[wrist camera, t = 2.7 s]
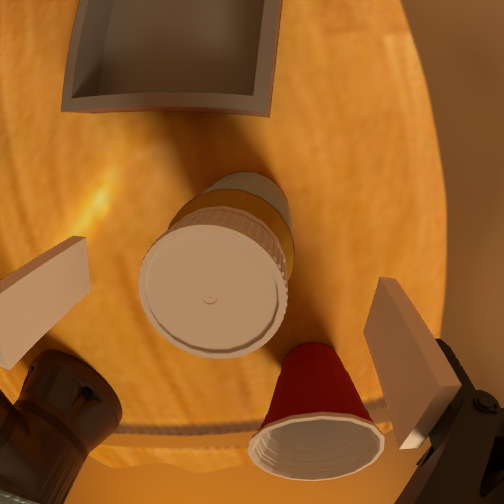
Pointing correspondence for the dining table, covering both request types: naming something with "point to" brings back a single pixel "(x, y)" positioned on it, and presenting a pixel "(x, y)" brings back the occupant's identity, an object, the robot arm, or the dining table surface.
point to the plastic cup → (315, 421)
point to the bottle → (222, 269)
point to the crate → (172, 56)
